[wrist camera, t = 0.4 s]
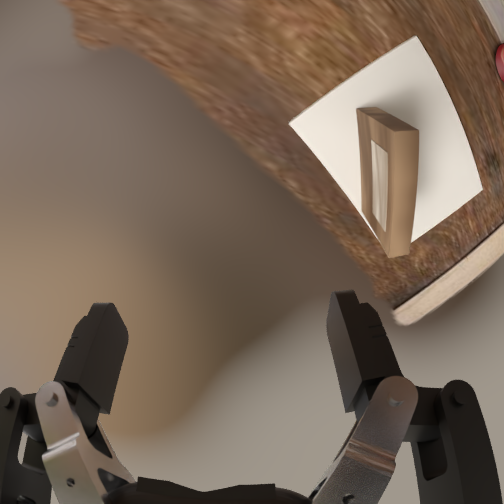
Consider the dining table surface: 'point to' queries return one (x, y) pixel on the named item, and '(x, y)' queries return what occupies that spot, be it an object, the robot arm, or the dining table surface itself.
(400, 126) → the slab
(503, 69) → the liquor
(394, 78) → the mat
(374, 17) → the dining table surface
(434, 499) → the robot arm
